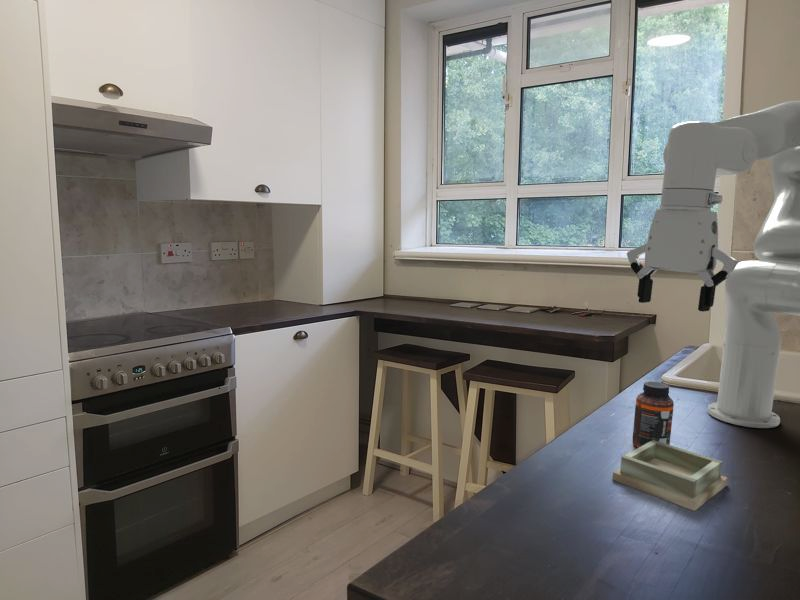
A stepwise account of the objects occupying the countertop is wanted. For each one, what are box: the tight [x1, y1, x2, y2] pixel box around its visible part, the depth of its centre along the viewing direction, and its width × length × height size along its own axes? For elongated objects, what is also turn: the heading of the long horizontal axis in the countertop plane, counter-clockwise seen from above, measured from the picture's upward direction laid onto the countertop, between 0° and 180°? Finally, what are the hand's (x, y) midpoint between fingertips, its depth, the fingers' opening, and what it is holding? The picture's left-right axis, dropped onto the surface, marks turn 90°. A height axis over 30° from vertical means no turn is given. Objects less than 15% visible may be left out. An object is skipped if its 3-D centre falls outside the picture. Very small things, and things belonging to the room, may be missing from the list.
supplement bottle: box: [632, 380, 675, 449], centre depth 100 cm, size 6×6×11 cm
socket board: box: [611, 440, 729, 512], centre depth 88 cm, size 12×12×4 cm
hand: (673, 306), depth 97 cm, fingers open, 9 cm apart
